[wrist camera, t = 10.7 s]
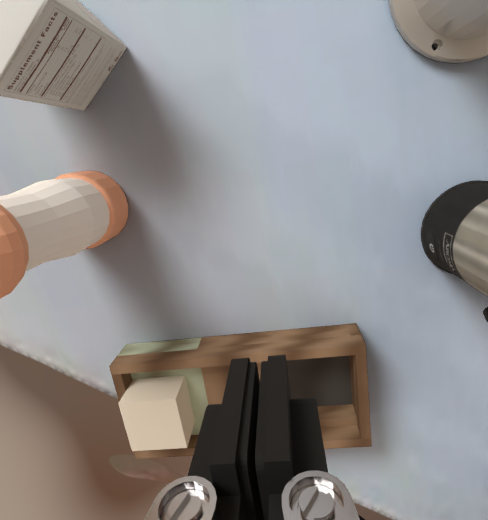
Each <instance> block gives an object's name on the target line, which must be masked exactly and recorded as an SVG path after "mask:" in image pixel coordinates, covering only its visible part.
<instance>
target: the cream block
mask: <svg viewBox="0 0 488 520" xmlns="http://www.w3.org/2000/svg"><path fill="white" fill-rule="evenodd" d="M118 404H119V407H120V411H121V414H122V418H123V421H124V425H125V428H126V432H127V435H128V439H129V442H130V446H131V449H132V451H144V450H161V449H178V448H187V447H188V443H189V440H190V437H191V433H192V430H193V426H194V423H195V417H194V413H193V408H192V404H191V400H190V395H189V391H188V386H187V382H186V377H185V375H181V376H169V377H157V378H145V379H133V380H132V382H131V383H130V385H129V387H128V388H127V390H126V392H125V393H124V395H123V396H122V398H121V400H120V401H119V403H118Z"/></svg>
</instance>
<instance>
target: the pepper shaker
mask: <svg viewBox="0 0 488 520" xmlns="http://www.w3.org/2000/svg"><path fill="white" fill-rule="evenodd" d="M127 219H128V203H127V199H126V196H125V194H124V192H123V191H122V189H121V187H120V186H119V185H118V184H117V183H116V182H115V181H114V180H113V179H112V178H111V177H109V176H107V175H105V174H103V173H101V172H95V171H83V172H75V173H69V174H64V175H60V176H58V177H57V178H55V179H52V180H46V181H40V182H37V183H34V184H32V185H30V186H28V187H25V188H23V189H21V190H19V191H16V192H14V193H12V194H9V195H4V196H0V298H2V297H4V296H6V295H8V294H9V293H11V292H12V291H13V289H14V288H15V287H16V286H17V284H18V283H19V282H20V280H21V279H22V278H23V276H24V274H25V271H27V270H29V269H32V268H34V267H36V266H38V265H40V264H42V263H44V262H47V261H51V260H56V259H60V258H64V257H68V256H72V255H75V254H77V253H78V252H80V251H82V250H84V249H89V248H95V247H97V246H98V245H100V244H102V243H104V242H106V241H107V240H109V239H111V238H113V237H114V236H116V235H118V234H119V233H120V232H121V230H122V229H123V228H124V227H125V224H126V221H127Z"/></svg>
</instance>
